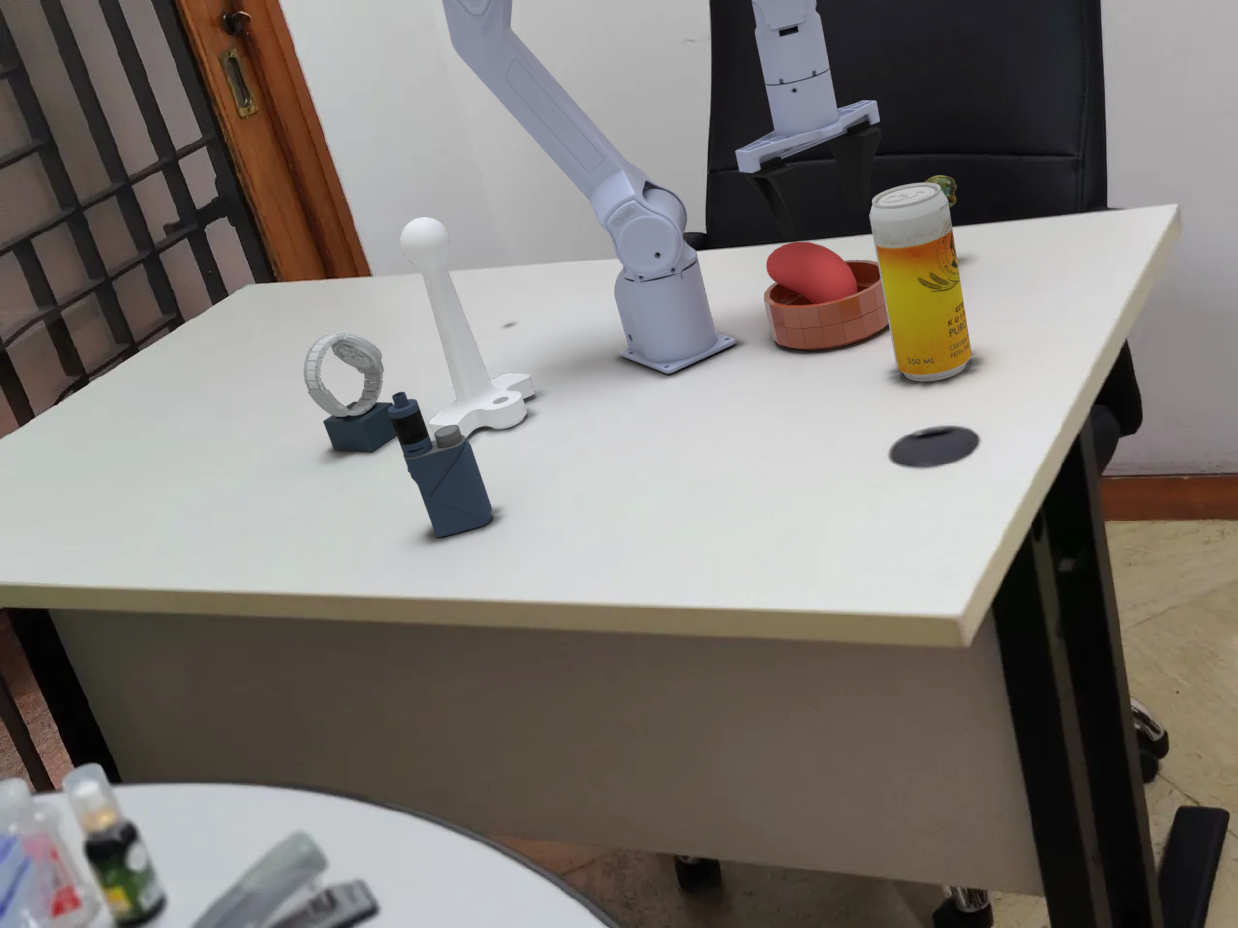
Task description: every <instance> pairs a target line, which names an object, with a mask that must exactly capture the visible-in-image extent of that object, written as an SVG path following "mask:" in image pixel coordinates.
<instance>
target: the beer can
mask: <svg viewBox="0 0 1238 928" xmlns="http://www.w3.org/2000/svg"><path fill="white" fill-rule="evenodd" d="M871 203H872V205H871V208H870V212H869V215H868V216H869V221H870V227H871V228H870V229H871V233H872V238H873V244H874V249H875V255H876V260H877V261H876V262H878V267H879V272H880V278H881V283H882V289H883V294H884V300H885V305H886V311H887V316H888V322H889V324H888V327H889V332H890V338H891V343H892V349H893V354H894V360H895V365H896V369H897V370H898V371H899V372H901V373H902V374H903V375H904V376H905V378H907V379H908V380H911V381H914V382H937V381H941V380H945V379H948V378H951V377H953V376H956V375H958V374H959V373H962V371H963V370H965V368H966V367H967V363H968V362H969V361H970V359H971V357H972V353H973V352H972V348H971V341H970V334H969V328H968V321H967V314H966V309H965V302H964V294H963V289H962V282H961V277H960V270H959V264H958V256H957V249H956V244H955V243H956V242H955V238H954V237H955V236H954V229H953V224H952V217H951V211H950V208H949V204H948V199H947V198H946V196H945V195H944V193H943V192H942V191H941V187H940V186H939V185H938V184H935V183H924V182H915V183H909V184H908V183H907V184H903V185H899V186H895V187H892V188H890V189H886V190H884V191H882V192H880V193H878V194H876V195H875V196H874V197H873V198H872V199H871Z"/></svg>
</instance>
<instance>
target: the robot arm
mask: <svg viewBox="0 0 1238 928" xmlns="http://www.w3.org/2000/svg"><path fill="white" fill-rule="evenodd" d="M441 3H442V7H443V11H444V15H445V20H446V24H447V25H446V26H447V28H448V33H449V37H450V41H451V45H452V48H453V49H454V51H455V52H456V54H457V55H458V56H459V58H460V59H461V60H462V61H463V62H464V63H465V64H466V66H468V68H469V69H470V70H471V71H472V72H473V73H474V74H475V75H476V77H477V78H478V79H479V80H480V81H481V82H482V83H483V84H484V85H485V87H487V89H488V90H489V91H490V92H491V93H492V94H493V95H494V97H496V99H497V100H498V101H499V102H500V103H501V105H503V107H504V108H505V109H506V110H507V111H508V112H509V113H510V114H511V115H512V116H513V117H514V119H515V120H516V121H517V122H518V123H519V124H520V126H522V128H523V129H524V130H525V131H526V132H527V133H528V134H529V135H530V136H531V137H532V139H533V140H534V141H535V142H536V143H537V144H538V145H539V146H540V148H541V149H542V150H543V151H544V152H545V153H546V155H548V156H549V158H550V159H551V160H553V162H554V163H555V164H556V166H557V167H558V168H559V169H561V171H562V172H563V173H564V174H565V175H566V177H568V179H569V180H570V181H571V182H572V183H573V184H574V185H575V186H576V187H577V189H578V190H579V191H580V192H581V193H582V195H583V196H585V198H586V199H587V200H588V202H589V203H590V206H591V208H592V210H593V213H594V215H595V217H596V220H597V221H598V224H599V225H600V226H601V228H602V229H603V230H604V231H605V232H606V233H607V235H608V236H609V238H610V239H611V242H612V245H613V249H614V252H615V255H616V258H617V260H618V261H619V263H620V264H621V265H622V269H621V270H620V272H619V273H618V274H617V277H616V279H615V283H614V290H613V293H614V300H615V304H616V307H617V312H618V314H619V318H620V322H621V325H622V330H623V333H624V337H625V340H626V345H627V348H626V349H624V350H622V351H621V352H620V354H621V357H623V358H625V359H628V360H631V361H633V362H635V363H639V364H641V365H644V366H646V367H648V368H650V369H654V370H656V371H659V372H661V373H665V374H673V373H675V372H677V371H679V370H681V369H683V368H686V367H688V366H691V365H692V364H694V363H697V362H700V361H701V360H703V359H705V358H708V357H709V356H712V355H714V354H716V353H719V352H721V351H723V350H725V349H727V348H729V347H732V346H733V345H735V344H736V343H737V341H736V338H735V337H731V336H729V335H726V334H722V333H719V332H716V327H715V324H714V320H713V316H712V311H711V306H710V303H709V299H708V298H709V297H708V295H707V289H706V287H705V282H704V278H703V274H702V269H701V266H700V262H699V261H700V260H699V257H698V253H697V250H696V249H695V248H693V247H691V246H690V245H689V244H688V243H687V241H686V240H685V239H684V233H685V231H686V227H687V225H688V224H687V223H688V213H687V208H686V206H685V204H684V201H683V200H682V198H681V197H680V196H679V195H678V194H677V193H676V192H674V191H673V190H672V189H670V188H668V187H666V186H662V185H660V184H658V183H656V182H655V181H654V180H652V179H651V178H650V177H649V176H648V175H647V174H646V173H645V172H644V170H642V169H641V168H640V167H638V166H637V165H634V164H633V163H631V162H630V161H629V160H627V158H625V156H624V155H623V154H622V153H621V152H620V151H619V150H618V149H617V147H615V145H614V144H613V143H612V141H610V140H609V138H608V137H607V136H606V134H604V133H603V131H602V130H601V129H600V128H599V127H598V126H597V125H596V124H595V123H594V121H593V120H592V119H591V118H590V117H589V116H588V114H587V113H586V112H585V111H584V110H583V109H582V108H581V106H580V105H579V104H578V103H577V102H576V101H575V100H574V98H572V96H571V95H570V94H569V93H568V92H567V90H566V89H564V87H563V86H562V85H561V84H560V83H559V82H558V80H557V79H556V78H555V77H554V76H553V75H552V73H551V72H550V71H549V70H548V69H547V68H546V67H545V65H543V63H542V62H541V60H539V59H538V57H537V56H536V55H535V53H533V52H532V51H531V50H530V48H529V47H527V45H526V44H525V42H524V41H522V40H521V38H520V37H519V36H518V35H517V33H515V32H514V30H513V28H512V25H511V24H512V12H513V0H441ZM751 4H752V9H753V14H754V19H755V25H756V27H755V29H754V35H755V41H756V46H757V50H758V55H759V60H760V65H761V70H762V75H763V80H764V85H765V89H766V94H767V99H768V104H769V110H770V114H771V120H772V124H773V128H774V129H773V130H772V131H771V132H769V133H767V134H765V135H764V136H762V137H760V138H758V139H756V140H755V141H753V142H751V143H749V144H747V145H745V146H744V147H743V146H742V147H741V148H739V149H736V150H735V151H734V153H735V157H736V161H737V166H738V171H739V173H743V176H744V178H745V180H746V181H747V182H748V183H749V184H750V185H751V187H753V188H754V190H756V192H757V193H758V194H759V196H760V198H761V199H762V200H763V201H764V203H765V204H766V206H767V207H768V209H769V210H770V212H771V214H772V216H773V219H774V220H775V222H776V224H777V226H778V229H779V230H780V232H781V235H782V237H783V239H785V240H789V241H794V242H797V241H799V240H802V239H803V226H802V225H803V224H802V220H801V214H800V209H799V204H798V191H797V190H798V170H799V169H798V167H796V166H789V165H787V164H786V163H787V162H786V161H784V162H783V159H785V158H788V157H790V156H793V155H795V154H797V153H800V152H802V151H804V150H807V149H810V148H812V147H815V146H817V145H819V144H822V143H825V142H827V145H828V146H829V148H830V151H831V153H832V156H833V158H834V160H835V164H836V167H837V171H838V172H839V176H840V181H841V185H842V187H841V188H842V191H843V196H844V200H845V202H846V206H847V209H848V211H853V212H860V213H864V212H866V211H868V208H869V193H870V184H871V175H872V170H873V164H874V160H875V156H876V154H877V151H878V147H879V145H880V143H881V141H882V132H881V129H880V128H879V127H873V126H871V125H875V124H877V123H880V121H881V119H880V113H879V107H878V102H877V100H866V99H865V100H860V101H858V102H856V103H852V104H849V105H846V106H842V107H839V108H838V105H837V101H836V96H835V89H834V86H833V79H832V73H831V69H830V62H829V57H828V52H827V46H826V40H825V35H824V30H823V24H822V19H821V15H820V14H819V12H818V11H816V8H817V0H751Z"/></svg>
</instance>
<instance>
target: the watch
mask: <svg viewBox="0 0 1238 928" xmlns="http://www.w3.org/2000/svg"><path fill="white" fill-rule="evenodd" d="M330 348H331V350H332V353H333V355H334V356H335V357H337V358H338V359H339V360H341V361H342V362H343V363H345V364H347V365H348V366H349V367H353V368H355V370H357V372H358V373H360V374H362V375H363V380H364V381H363V388H362V390H361V391H362V392H361V395H360V397H359V399H358V400H357V401H352V402H350V403H349V404H347V405H344V404H342V402H340V400H338V399H337V397H335V396H334V394H333V393H332V392H331V390H330V389H327V388H326V385H325V383H324V382H323V381H322V378H321V376H322V375H321V373H322V372H321V368H322V364H323V359H324V358H325V355H326V354H327V352H328V350H329V349H330ZM382 359H383V354H382V351H381V350H380V348H379V347H378V346H377V345H376V344H374V343H373V342H372V341H370V340H369V339H368V338H366V337H364V336H361V335H360V334H358V333H354V332H351V331H343V330H342V331H338V332H336V333H335V334H329V335H328V334H327V335H323V336H322V337H319V338H317V339H316V340H315V341H314V343H312V345H310V347H309V349H308V351H307V353H306V356H305V359H304V364H303V377H304V378H303V379H304V384H305V385H306V388H307V390H308V391H307V393H308V395H309V397H310V398H311V400H313V401H314V402H315V403H316V405H317V406H318V407H320V408H321V409H322V410H323V411H325V412H326V413H327V414H329V415H330V416H328V417H327V418H326V419H324V420H323V421H322V422H323V426H324V428H325V431H326V433H327V435H328V438H329V441H330V443H331V446H332V448H333V450H334V451H348V452H349V451H350V452H363V453H373V452H375V451H377V450H378V449H380V448H381V447H382V446H384V445H386V444H387V443H388V442H390V441H391V440H393V439H394V438H395V437H397V435H396V432H395V429H394V427H393V424H392V420H391V418H390V416H389V413H388V408H389V407H390V406H392V405H393V404H394V402H387V401H385V402H383V401H382V402H380V401H378V400H379V397H380V395H381V393H382V388H383V383H384V382H383V379H384V372H385V368H384V364H383V362H382Z"/></svg>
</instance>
